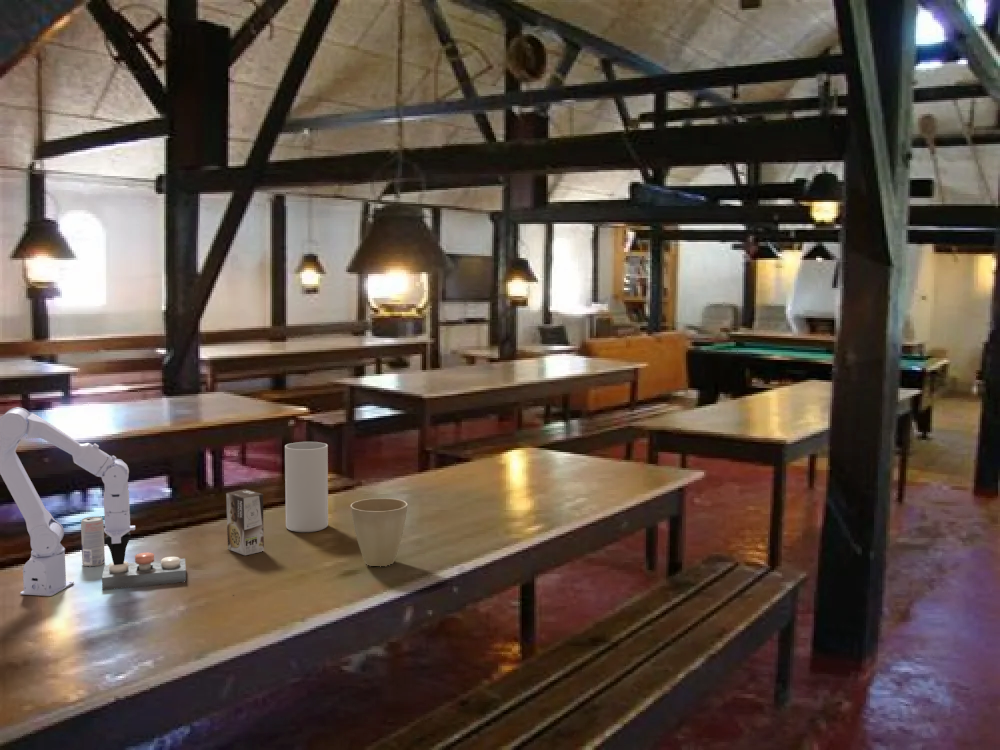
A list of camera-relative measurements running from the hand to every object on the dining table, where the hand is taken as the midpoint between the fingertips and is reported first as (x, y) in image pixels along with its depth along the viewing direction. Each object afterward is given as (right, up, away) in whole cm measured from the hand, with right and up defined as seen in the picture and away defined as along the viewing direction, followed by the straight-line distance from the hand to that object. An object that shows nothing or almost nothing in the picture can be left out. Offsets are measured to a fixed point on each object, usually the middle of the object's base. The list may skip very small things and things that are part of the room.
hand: (118, 564), depth 226 cm
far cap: (+11, -4, +4) cm, 13 cm away
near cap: (0, -4, +1) cm, 4 cm away
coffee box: (+24, -2, +28) cm, 36 cm away
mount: (+6, -4, +3) cm, 7 cm away
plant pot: (+62, -4, +18) cm, 64 cm away
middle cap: (+6, -2, +2) cm, 6 cm away
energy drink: (-12, -3, +14) cm, 19 cm away
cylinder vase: (+36, 0, +51) cm, 62 cm away
